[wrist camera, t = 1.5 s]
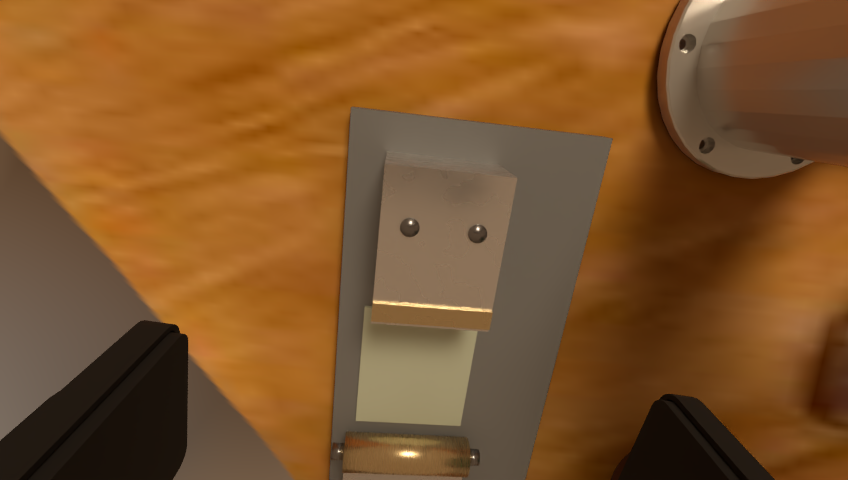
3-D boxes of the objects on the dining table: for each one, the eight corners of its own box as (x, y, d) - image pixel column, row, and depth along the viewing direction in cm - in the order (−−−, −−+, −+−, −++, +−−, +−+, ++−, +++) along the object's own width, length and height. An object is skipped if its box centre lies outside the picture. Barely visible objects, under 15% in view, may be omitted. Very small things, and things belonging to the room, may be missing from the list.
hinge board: (604, 136, 24) (614, 139, 23) (512, 504, 33) (516, 519, 32) (352, 106, 22) (350, 107, 21) (329, 498, 31) (326, 513, 30)
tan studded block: (497, 163, 23) (518, 178, 19) (474, 296, 25) (488, 333, 22) (386, 151, 22) (384, 164, 18) (374, 288, 25) (370, 325, 21)
